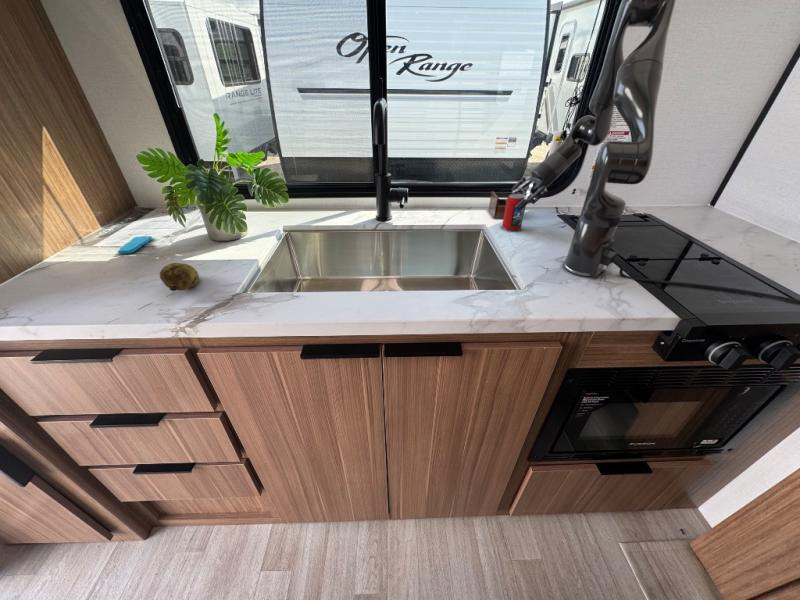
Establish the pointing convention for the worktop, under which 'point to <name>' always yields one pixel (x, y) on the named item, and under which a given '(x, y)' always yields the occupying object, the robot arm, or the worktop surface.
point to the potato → (179, 276)
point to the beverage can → (513, 213)
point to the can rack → (497, 206)
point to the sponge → (134, 244)
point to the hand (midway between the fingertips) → (511, 206)
